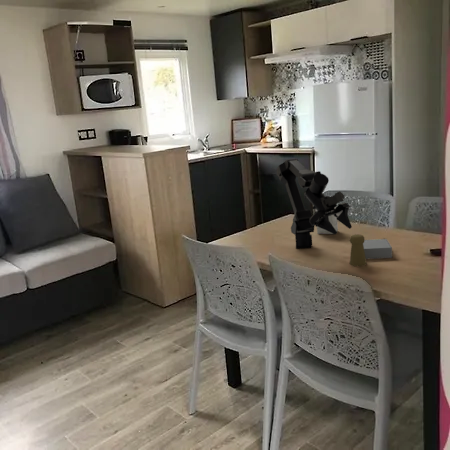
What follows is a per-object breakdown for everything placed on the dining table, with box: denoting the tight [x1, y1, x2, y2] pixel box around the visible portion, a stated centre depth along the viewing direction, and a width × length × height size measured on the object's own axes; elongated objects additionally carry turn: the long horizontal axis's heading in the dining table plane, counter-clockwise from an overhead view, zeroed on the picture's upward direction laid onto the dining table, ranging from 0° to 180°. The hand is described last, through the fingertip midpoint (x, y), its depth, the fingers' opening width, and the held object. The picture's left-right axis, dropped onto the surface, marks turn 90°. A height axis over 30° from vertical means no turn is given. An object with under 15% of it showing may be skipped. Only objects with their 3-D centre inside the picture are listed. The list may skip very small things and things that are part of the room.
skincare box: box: [314, 206, 339, 235], centre depth 228 cm, size 8×7×16 cm
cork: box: [349, 233, 367, 267], centre depth 182 cm, size 6×6×11 cm
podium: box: [363, 238, 393, 260], centre depth 193 cm, size 12×12×4 cm
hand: (343, 230), depth 185 cm, fingers open, 9 cm apart
